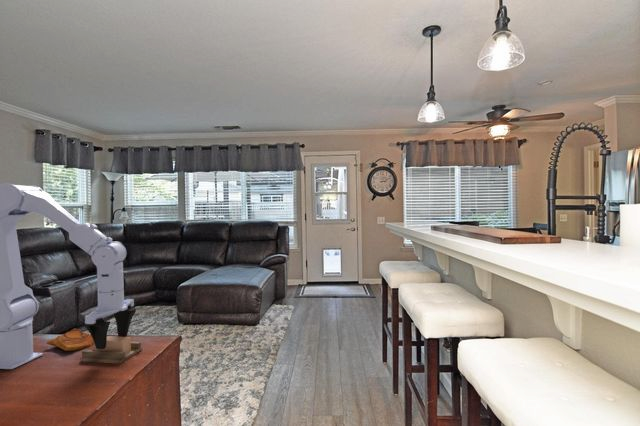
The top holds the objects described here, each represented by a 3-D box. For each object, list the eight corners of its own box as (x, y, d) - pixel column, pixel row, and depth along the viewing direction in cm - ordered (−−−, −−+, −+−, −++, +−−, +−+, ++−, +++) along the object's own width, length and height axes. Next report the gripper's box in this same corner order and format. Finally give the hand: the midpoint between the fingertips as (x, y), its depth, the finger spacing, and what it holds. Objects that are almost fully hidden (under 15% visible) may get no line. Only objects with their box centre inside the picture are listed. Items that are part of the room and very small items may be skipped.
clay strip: (94, 354, 87) (93, 340, 87) (103, 349, 90) (102, 335, 90) (122, 355, 86) (122, 341, 85) (131, 350, 89) (130, 337, 88)
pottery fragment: (74, 327, 100) (101, 324, 98) (77, 342, 100) (104, 339, 98) (39, 342, 91) (68, 338, 88) (42, 359, 91) (72, 356, 88)
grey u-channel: (80, 361, 84) (80, 352, 84) (105, 347, 92) (104, 339, 92) (121, 363, 83) (120, 354, 83) (142, 349, 91) (142, 341, 91)
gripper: (103, 298, 79) (104, 355, 80) (143, 283, 94) (144, 332, 94) (76, 297, 80) (78, 353, 81) (120, 283, 95) (121, 331, 95)
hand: (112, 342), depth 88 cm, fingers open, 7 cm apart
